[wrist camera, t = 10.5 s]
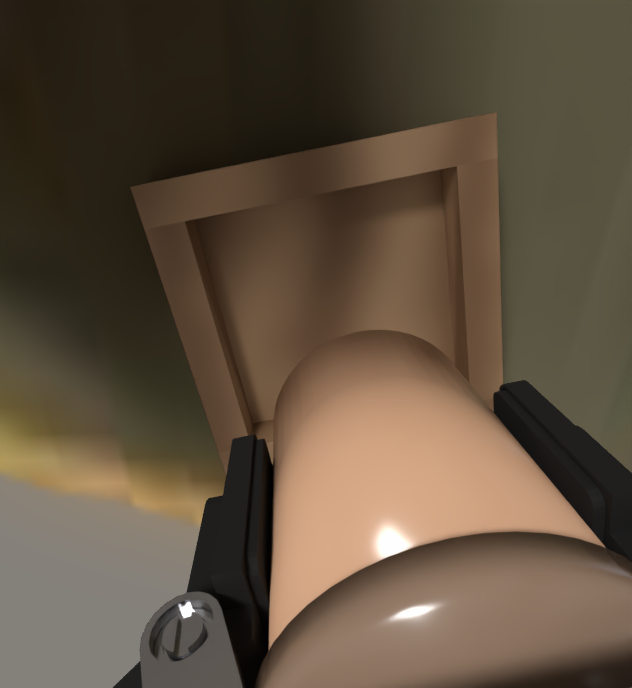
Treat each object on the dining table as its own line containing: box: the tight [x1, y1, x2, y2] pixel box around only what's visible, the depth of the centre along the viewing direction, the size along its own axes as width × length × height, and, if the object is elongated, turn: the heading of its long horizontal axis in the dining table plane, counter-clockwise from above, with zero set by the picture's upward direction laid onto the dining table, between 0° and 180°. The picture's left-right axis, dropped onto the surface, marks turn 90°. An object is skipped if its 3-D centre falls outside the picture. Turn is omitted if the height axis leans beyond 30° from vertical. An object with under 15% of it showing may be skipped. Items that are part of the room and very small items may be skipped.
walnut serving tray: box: [130, 112, 503, 475], centre depth 21 cm, size 14×14×3 cm
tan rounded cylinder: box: [255, 330, 632, 688], centre depth 9 cm, size 6×6×8 cm
